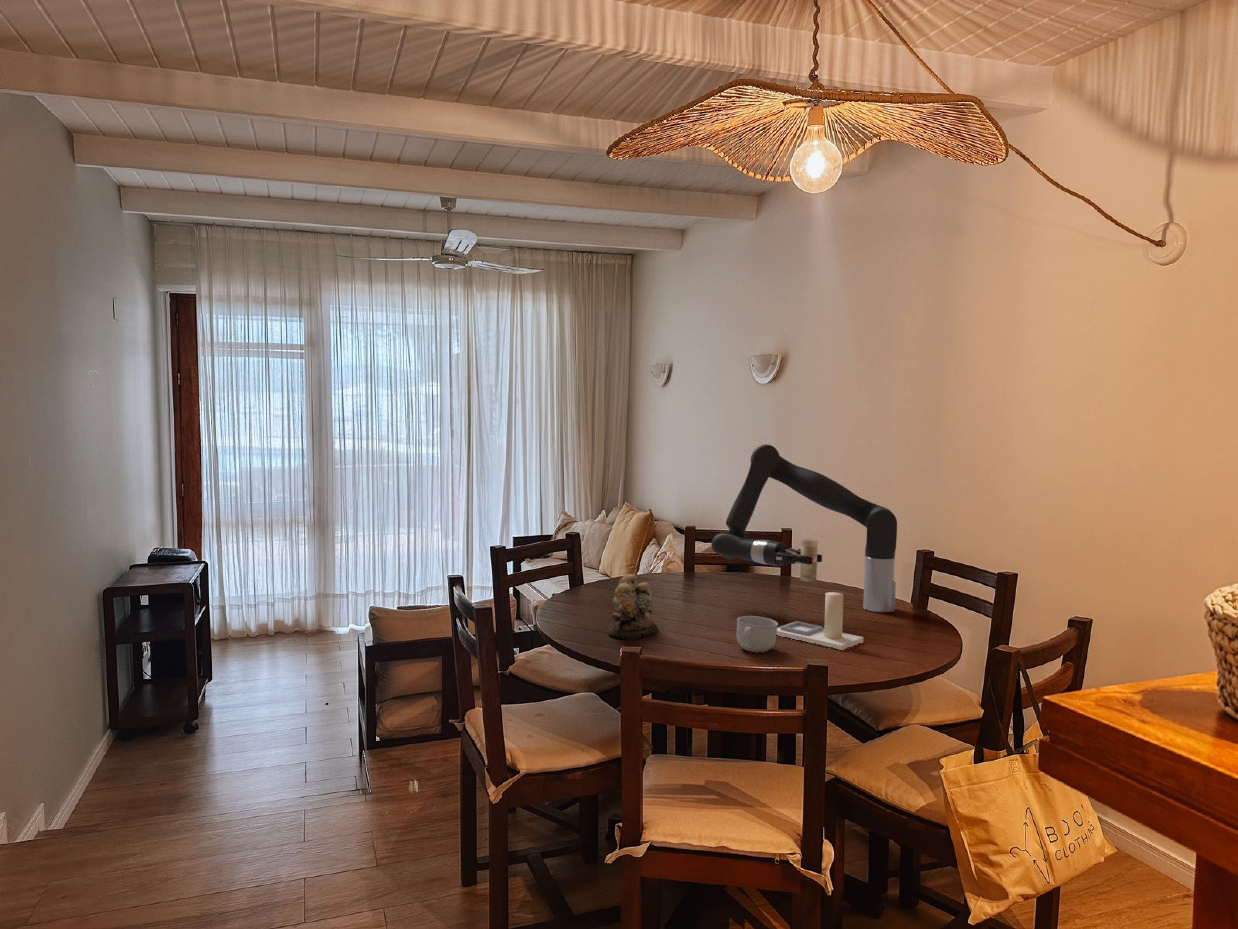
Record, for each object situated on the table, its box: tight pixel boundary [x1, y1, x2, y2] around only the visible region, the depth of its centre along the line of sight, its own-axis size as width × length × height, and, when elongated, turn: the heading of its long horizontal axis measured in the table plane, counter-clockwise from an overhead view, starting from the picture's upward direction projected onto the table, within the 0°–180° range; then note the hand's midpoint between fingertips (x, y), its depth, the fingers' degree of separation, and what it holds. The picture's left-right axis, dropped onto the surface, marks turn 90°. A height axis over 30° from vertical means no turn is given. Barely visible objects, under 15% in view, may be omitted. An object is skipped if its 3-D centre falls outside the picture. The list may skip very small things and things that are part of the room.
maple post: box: [799, 538, 819, 582], centre depth 250 cm, size 5×5×12 cm
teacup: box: [736, 615, 779, 653], centre depth 220 cm, size 14×11×8 cm
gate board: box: [777, 591, 864, 651], centre depth 232 cm, size 22×12×14 cm, turn 46°
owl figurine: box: [608, 573, 659, 640], centre depth 236 cm, size 18×12×17 cm, turn 145°
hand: (816, 559), depth 248 cm, fingers closed on maple post, 4 cm apart
